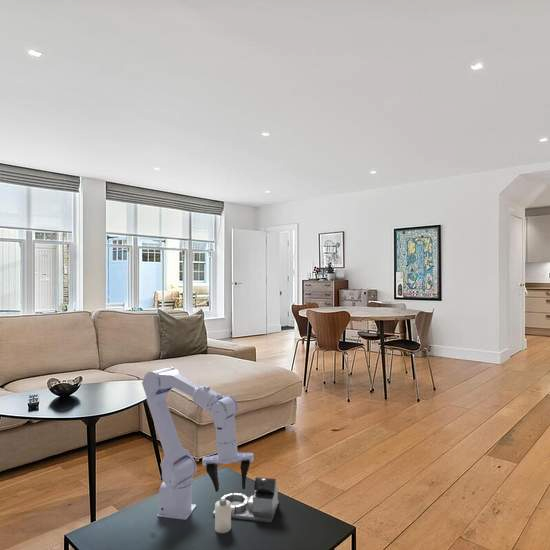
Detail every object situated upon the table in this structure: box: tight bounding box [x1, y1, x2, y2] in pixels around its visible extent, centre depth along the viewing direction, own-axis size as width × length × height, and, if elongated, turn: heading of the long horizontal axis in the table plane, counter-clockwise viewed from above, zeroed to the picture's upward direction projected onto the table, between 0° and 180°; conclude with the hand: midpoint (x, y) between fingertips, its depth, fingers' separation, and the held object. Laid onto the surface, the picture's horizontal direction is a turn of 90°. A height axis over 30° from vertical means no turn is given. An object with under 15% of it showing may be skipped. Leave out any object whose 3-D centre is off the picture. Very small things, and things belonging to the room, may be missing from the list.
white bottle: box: [214, 498, 232, 534], centre depth 122 cm, size 4×4×8 cm
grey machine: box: [212, 476, 280, 523], centre depth 132 cm, size 18×11×10 cm, turn 79°
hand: (230, 489), depth 121 cm, fingers open, 7 cm apart
